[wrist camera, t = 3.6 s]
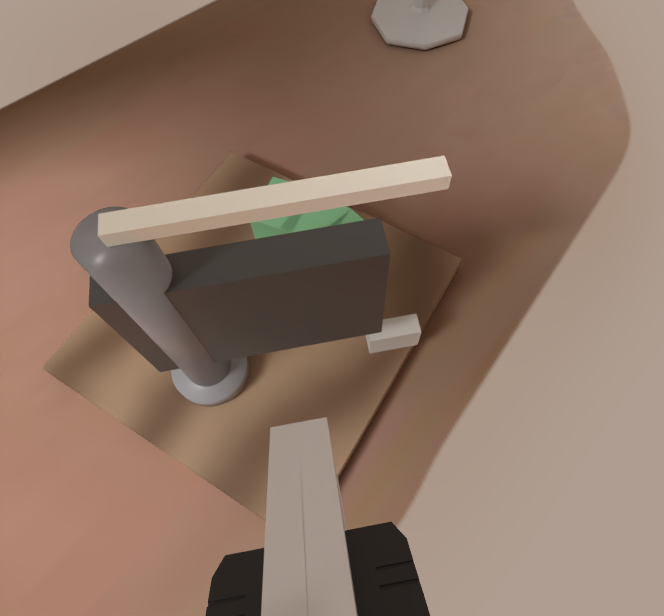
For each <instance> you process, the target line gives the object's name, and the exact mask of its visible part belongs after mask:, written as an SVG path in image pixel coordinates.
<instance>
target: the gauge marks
mask: <svg viewBox="0 0 664 616" xmlns="http://www.w3.org/2000/svg"><path fill="white" fill-rule="evenodd" d="M285 182H289V181H286V180H282V179H279V178H276V177H272V179H271V181H270V183H269V184H268V185H273V184H279V183H285ZM363 220H364V219H362V218H361V217H360V216H359V215H358V214H357V213H355V212H354V211H353V210H352V209H351V208H349V207H347V206H345V207H339V208H334V209H328V210H322V211H316V212H310V213H304V214H298V215H293V216H287V217H281V218H275V219H269V220H263V221H257V222H251V223H250V224H251V227H252V230H253V233H254V236H255V239H258V238H264V237H269V236H275V235H281V234H287V233H293V232H299V231H304V230H310V229H316V228H322V227H328V226H333V225H339V224H345V223H351V222H357V221H363ZM420 335H421V329H420V325H419V321H418V318H417V314H411V315H405V316H400V317H394V318H389V319H383V323H382V332H380V333H374V334H369V335H366V340H367V344H368V349H369V353H375V352H381V351H386V350H392V349H397V348H403V347H408V346H414V345H418V342H419V339H420Z"/></svg>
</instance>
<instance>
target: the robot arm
mask: <svg viewBox="0 0 664 616" xmlns="http://www.w3.org/2000/svg"><path fill="white" fill-rule="evenodd" d="M206 616H430V614H429V611H428V607H427V604H426V601H425V597H424V594H423V591H422V587H421V584H420V582H419V578H418V574H417V571H416V568H415V565H414V562H413V558H412V555H411V551H410V548H409V545H408V541H407V538H406V537H405V536H404V535H403V534H402V533H401V532H400V531H399V530H398V529H397V527H396V526H395V525H394V524H393V523H392V522H387V523H382V524H377V525H372V526H367V527H361V528H356V529H351V530H347V529H346V522H345V516H344V510H343V503H342V498H341V492H340V487H339V481H338V476H337V471H336V465H335V460H334V454H333V449H332V443H331V438H330V433H329V427H328V422H327V417H324V418H319V419H314V420H308V421H303V422H297V423H292V424H287V425H281V426H276V427H270V445H269V465H268V485H267V506H266V526H265V546H264V548H261V549H256V550H251V551H246V552H241V553H235V554H230V555H225V557H224V558H223V560H222V562H221V563H220V565H219V567H218V568H217V570H216V572H215V573H214V575H213V577H212V580H211V586H210V592H209V598H208V607H207V610H206Z"/></svg>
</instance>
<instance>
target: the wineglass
mask: <svg viewBox="0 0 664 616" xmlns="http://www.w3.org/2000/svg"><path fill="white" fill-rule="evenodd" d="M467 15H468V7H467V6H466V4H465V3H464V2H463V1H462V0H377V2H376V5H375V8H374V10H373V13H372V16H371V21H372V23H373V24H374V26H375V27H376V29H377V30H378V32H379V33H380V35H381V36H382V38H383V39H384V41H385V42H386V44H388V45H395V46H401V47H407V48H414V49H420V50H427V49H431V48H434V47H437V46H440V45H444V44H447V43H450V42H453V41H457V40H460V39H461V37H462V33H463V30H464V26H465V22H466V19H467Z"/></svg>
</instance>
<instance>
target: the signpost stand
mask: <svg viewBox="0 0 664 616" xmlns="http://www.w3.org/2000/svg"><path fill="white" fill-rule="evenodd" d="M451 177H452V175H451V172H450V169H449V166H448V164H447V161H446V158H445V156H439V157H433V158H427V159H421V160H416V161H410V162H404V163H398V164H392V165H386V166H380V167H374V168H368V169H362V170H356V171H350V172H344V173H338V174H332V175H326V176H320V177H314V178H308V179H302V180H296V181H291V182H285V183H279V184H273V185H267V186H261V187H255V188H249V189H243V190H237V191H231V192H225V193H219V194H213V195H207V196H201V197H195V198H189V199H183V200H177V201H171V202H166V203H160V204H154V205H148V206H142V207H136V208H130V209H128V208H124V207H108V208H103V209H100V210H98V211H95V212H93V213H92V214H90V215H88V216H87V217H86V218H84V219H83V220H82V221H81V222H80V223H79V224H78V226H77V227H76V229H75V230H74V232H73V234H72V237H71V242H70V248H71V252H72V255H73V257H74V258H75V260H76V261H77V262H78V263H79V264H80V265H81V266H82V267H83V268H84V269H85V270H86V271H87V272H88V273H89V274H90V289H89V307H90V308H91V309H92V310H93V311H94V312H95V313H96V314H98V315H99V316H100V317H101V318H102V319H103V320H104V321H105V322H106V323H107V324H108V325H109V326H111V327H112V328H113V329H114V330H115V331H116V332H117V333H118V334H119V335H120V336H121V337H122V338H124V339H125V340H126V341H127V342H128V343H129V344H130V345H131V346H132V347H133V348H134V349H135V350H137V351H138V352H139V353H140V354H141V355H142V356H143V357H144V358H145V359H146V360H147V361H148V362H150V363H151V364H152V365H153V366H154V367H155V368H156V369H157V370H158V371H159V372H164V371H170V370H171V375H172V380H173V383H174V385H175V387H176V388H177V390H178V391H179V392H180V393H181V394H182V395H183V396H184V397H185V398H186V399H188V400H189V401H190V402H192V403H194V404H196V405H199V406H205V407H213V406H218V405H222V404H224V403H226V402H228V401H230V400H232V399H233V398H234V397H235V396H237V395H238V394H239V392H240V391H241V390H242V389H243V387H244V385H245V384H246V381H247V379H248V375H249V361H248V358H247V356H253V355H258V354H264V353H269V352H275V351H280V350H286V349H291V348H297V347H303V346H308V345H314V344H319V343H325V342H330V341H336V340H341V339H347V338H352V337H358V336H363V335H369V334H374V333H380V332H382V323H383V314H384V306H385V297H386V288H387V280H388V271H389V262H390V250H389V246H388V243H387V239H386V235H385V231H384V228H383V224H382V220H381V217H380V218H374V219H368V220H363V221H357V222H351V223H345V224H339V225H333V226H328V227H322V228H316V229H310V230H304V231H299V232H293V233H287V234H281V235H275V236H269V237H264V238H258V239H252V240H246V241H240V242H235V243H229V244H223V245H217V246H211V247H205V248H200V249H194V250H188V251H182V252H176V253H171V254H164V253H163V251H162V250H161V248H160V247H159V245H158V244H157V242H156V240H155V239H158V238H164V237H169V236H175V235H181V234H187V233H193V232H199V231H205V230H210V229H216V228H222V227H228V226H234V225H240V224H246V223H251V222H257V221H263V220H269V219H275V218H281V217H287V216H293V215H298V214H304V213H310V212H316V211H322V210H328V209H334V208H339V207H345V206H351V205H357V204H363V203H369V202H375V201H380V200H386V199H392V198H398V197H404V196H410V195H416V194H421V193H427V192H433V191H439V190H445V189H449V185H450V181H451Z"/></svg>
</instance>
